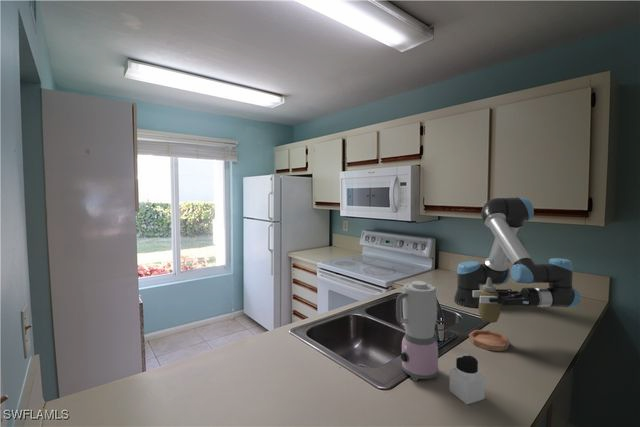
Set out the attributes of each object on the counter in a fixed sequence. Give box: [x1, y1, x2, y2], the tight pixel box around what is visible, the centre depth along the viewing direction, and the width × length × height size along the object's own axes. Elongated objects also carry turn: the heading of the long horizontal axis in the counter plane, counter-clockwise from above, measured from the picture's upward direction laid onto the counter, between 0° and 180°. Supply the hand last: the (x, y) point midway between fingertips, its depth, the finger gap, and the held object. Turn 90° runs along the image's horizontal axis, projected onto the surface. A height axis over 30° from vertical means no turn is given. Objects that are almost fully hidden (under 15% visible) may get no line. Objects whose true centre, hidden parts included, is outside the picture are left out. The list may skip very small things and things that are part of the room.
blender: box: [395, 280, 439, 381], centre depth 105 cm, size 16×12×32 cm
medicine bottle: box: [449, 353, 486, 405], centre depth 93 cm, size 7×7×12 cm
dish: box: [468, 329, 511, 352], centre depth 126 cm, size 14×14×2 cm
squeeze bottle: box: [477, 277, 501, 324], centre depth 125 cm, size 8×8×18 cm
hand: (476, 296), depth 125 cm, fingers closed on squeeze bottle, 6 cm apart
